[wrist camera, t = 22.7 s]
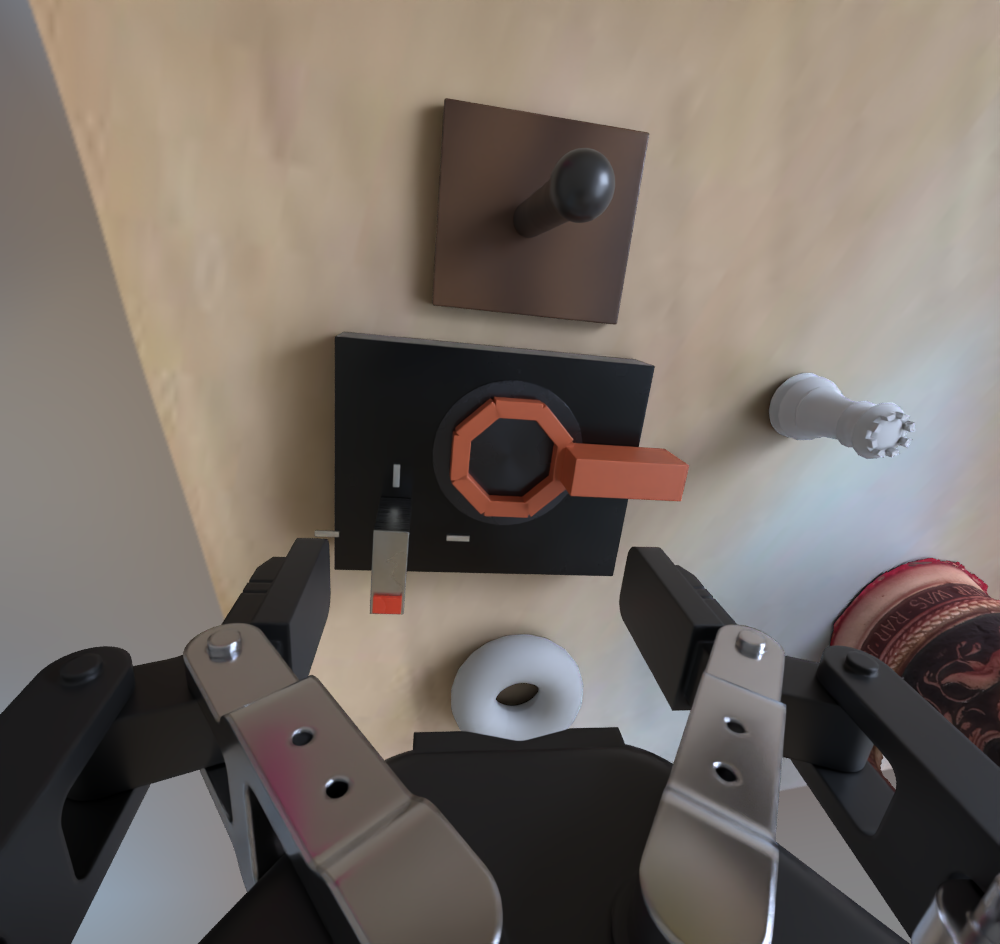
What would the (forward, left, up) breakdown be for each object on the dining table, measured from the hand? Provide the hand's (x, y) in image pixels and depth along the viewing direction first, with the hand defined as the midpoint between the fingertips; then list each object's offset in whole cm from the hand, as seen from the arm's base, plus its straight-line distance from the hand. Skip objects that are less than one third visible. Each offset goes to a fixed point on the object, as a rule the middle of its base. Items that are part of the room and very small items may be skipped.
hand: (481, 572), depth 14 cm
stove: (-2, +4, -20) cm, 20 cm away
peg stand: (-4, -11, -20) cm, 23 cm away
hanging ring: (-7, +2, -17) cm, 18 cm away
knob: (+3, +7, -17) cm, 19 cm away
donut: (-7, +21, -20) cm, 30 cm away
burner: (-4, +2, -17) cm, 17 cm away
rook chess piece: (-24, -2, -20) cm, 31 cm away
